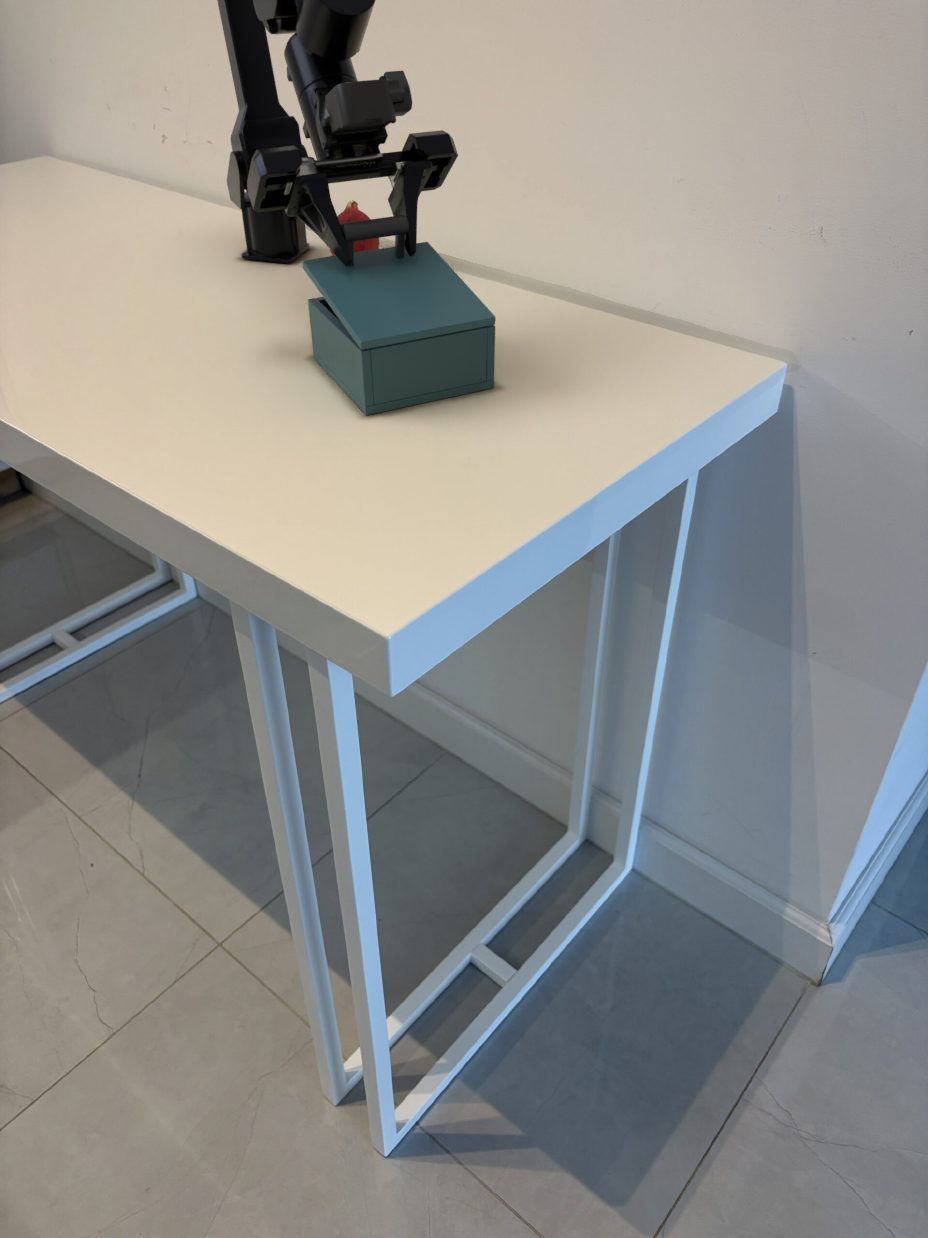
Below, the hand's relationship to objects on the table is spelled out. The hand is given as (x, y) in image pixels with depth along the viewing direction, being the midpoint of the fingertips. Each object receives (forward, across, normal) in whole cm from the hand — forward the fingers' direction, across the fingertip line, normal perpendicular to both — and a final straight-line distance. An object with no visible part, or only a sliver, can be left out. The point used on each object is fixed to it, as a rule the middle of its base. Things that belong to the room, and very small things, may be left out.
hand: (381, 258), depth 84 cm
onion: (-9, +6, +24) cm, 27 cm away
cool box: (+9, 0, +4) cm, 10 cm away
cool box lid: (+4, 0, -1) cm, 4 cm away
